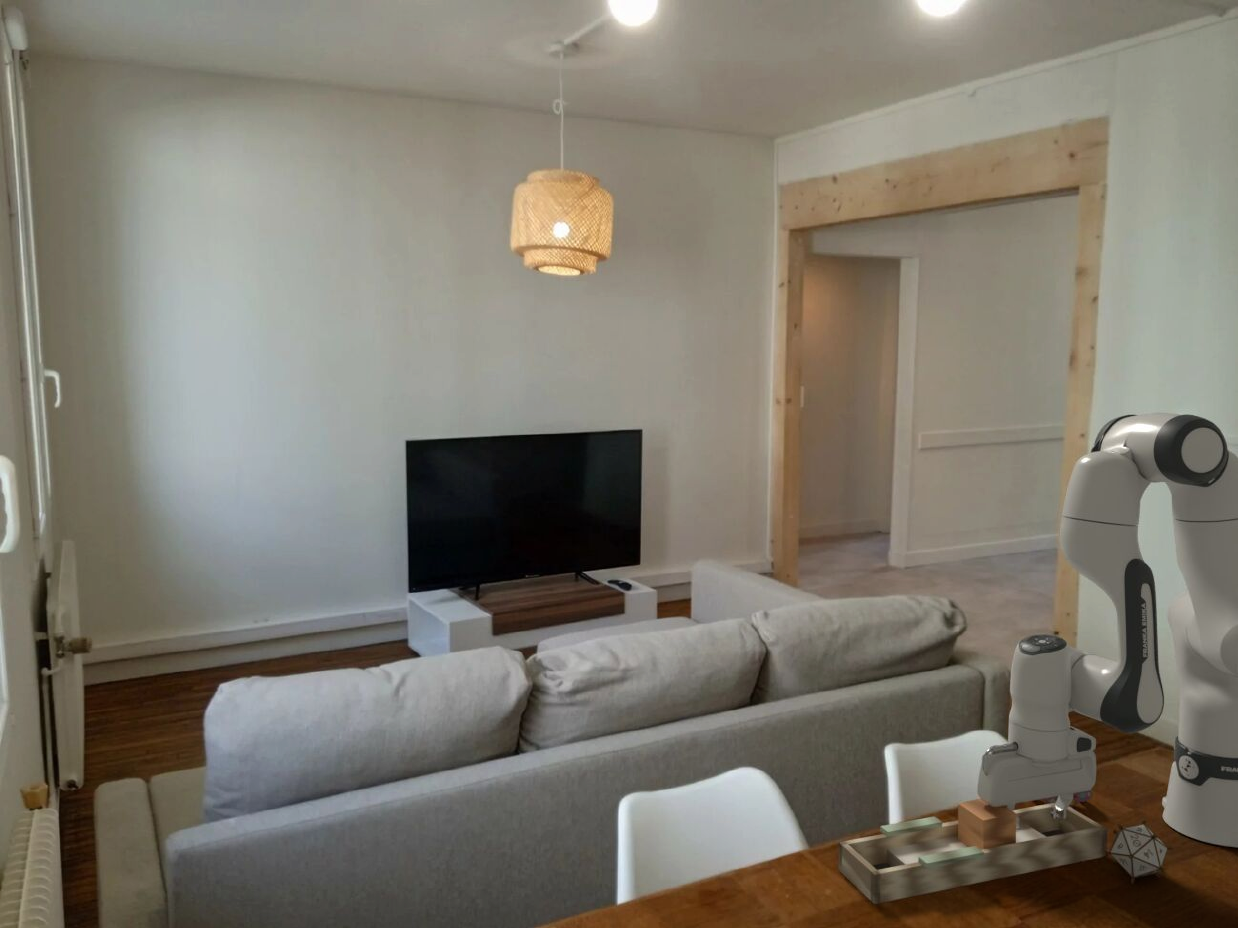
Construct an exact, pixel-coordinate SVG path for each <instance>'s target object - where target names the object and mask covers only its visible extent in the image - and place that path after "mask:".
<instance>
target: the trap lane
mask: <svg viewBox="0 0 1238 928" xmlns="http://www.w3.org/2000/svg"><path fill="white" fill-rule="evenodd" d="M1055 804H1056V803H1051V804H1046V803H1045V804H1040V805H1035V806H1031V807H1025V808H1019V809H1013V810H1012V811H1014V812H1015V813H1016V816H1017V817H1018V818H1020V820H1019V828H1016V843H1014V844H1008V845H1003V846H998V847H993V848H988V849H983V850H980V849H979V848H978V847H976V846H972V847H968V846H967V845H965V844H964V843H962V842H961V841H960V840H958V820H953V821H947V822H943V821H941V819H939V818H938V817H936V816H929V817H924V818H923V817H922V818H918V819H911V820H906V821H902V822H896V823H891V824H885V825H880V828H879V829H880V830H879V832H881V834H876V835H872V836H865V837H859V838H853V839H848V840H844V841H838V862H837V864H838V871H839V873H841V874H842V875H843V876H844V877H845V878H846V879H847V880H849V882H850V883H852V885H854V886H855V887H856V888H857V889H858V890H859V891H860V893H862V894H863V895H864V896H865V897H866V898H867V899H868V900H870V902H871V903H872V904H873V905H877V904H882V903H886V902H892V901H896V900H901V899H906V898H910V897H917V896H922V895H925V894H930V893H935V892H941V891H945V890H949V889H955V888H960V887H964V886H970V885H974V884H978V883H983V882H989V881H992V880H997V879H999V880H1000V879H1003V878H1008V877H1012V876H1017V875H1018V876H1019V875H1022V874H1027V873H1031V872H1032V873H1033V872H1037V871H1042V870H1048V869H1050V868H1056V867H1060V866H1061V867H1062V866H1066V865H1070V864H1075V863H1080V861H1081V862H1085V861H1090V860H1093V859H1094V860H1095V859H1100V858H1104V857H1107V855H1105V854H1103V853H1104V852H1105V851H1106V852H1108V850H1107V849H1108V832H1109V831H1108V828H1107V827H1105V826H1103V825H1101V824H1100V823H1098V822H1097V821H1094V820H1093V819H1091V818H1089V817H1088V816H1086V815H1084V814H1083V813H1081V812H1080V811H1077V810H1076V809H1074V808H1073V807H1072V806H1069V807H1068V808H1067V809H1066V819H1062V820H1056V819H1054V818H1052V817H1051V806H1054V805H1055Z"/></svg>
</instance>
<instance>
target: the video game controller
mask: <svg viewBox="0 0 1238 928" xmlns="http://www.w3.org/2000/svg"><path fill="white" fill-rule="evenodd" d="M1093 795H1094V794H1093V790H1092V789H1091V790H1089V791H1083V792H1077V793H1073V800H1072V801H1071V803H1070V805H1069V807H1076V806H1077V805H1079V803H1084V802H1085V803H1086V802H1087V801H1088V800H1089V799H1091V798H1092V797H1093ZM1058 797H1059V796H1055V797H1049V798H1044V799H1042V801H1044V802H1045V804H1051V803H1056V801H1057V799H1058Z"/></svg>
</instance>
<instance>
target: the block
mask: <svg viewBox="0 0 1238 928" xmlns="http://www.w3.org/2000/svg"><path fill="white" fill-rule="evenodd" d="M957 821H958V840H960V841H961V842H962V843H964V844H965V845H967V846H968V847H972V846H976V847H978V848H979V849H980V850H983V849H988V848H993V847H998V846H1003V845H1008V844H1014V843H1016V813H1015V812H1014V811H1013V810H1012V809H1011V810H1010V809H1009V808H1007V807H1006V806H999V807H992V806H990V805H989V804H987V803H986V802H984V801H983V800H982V799H981V798H977V799H972V800H968V801H964V802H958V803H957Z"/></svg>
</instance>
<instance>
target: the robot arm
mask: <svg viewBox="0 0 1238 928" xmlns="http://www.w3.org/2000/svg"><path fill="white" fill-rule="evenodd" d="M1151 483H1153V484H1154V483H1165V484H1166V485H1167V488H1168V489H1169V491H1170V494H1171V512H1172V514H1171V515H1172V524H1173V533H1174V544H1175V552H1176V561H1177V566H1178V568H1179V571H1180V573H1181V574H1182V576H1183V579H1184V582H1185V585H1186V587H1187V589H1185V590H1183V591H1181V592H1179V593H1178V594H1177V595H1176V596H1175V597H1173V598H1172V600H1171V602H1170V603H1169V606H1168V608H1167V621H1168V624H1169V627H1170V630H1171V634H1172V641H1173V647H1174V657H1175V663H1176V670H1177V671H1176V672H1177V678H1178V683H1179V684H1178V685H1179V687H1178V688H1179V713H1178V714H1179V715H1178V733H1177V736H1176V737H1175V740H1174V744H1173V750H1174V752H1173V759H1174V761H1173V763H1172V765H1171V770H1170V773H1169V774H1170V775H1169V779H1168V786H1167V792H1166V796H1164V797H1162V799H1161V801H1162V802H1161V804H1162V807H1163V813H1162V819H1163V820H1164V822H1165V823H1166V824H1167V825H1168V826H1169V827H1171V828H1172V829H1174V830H1175V831H1176V832H1178V833H1180V834H1182V835H1185V836H1187V837H1190V838H1192V839H1195V840H1197V841H1201V842H1204V843H1209V844H1212V845H1218V846H1224V847H1232V848H1238V456H1237V455H1236V454H1235V453H1233V452H1232V451H1230V450H1228V445H1227V440H1226V438H1225V436H1224V434H1223V432H1222V430H1221V429H1220V428H1219V426H1217V424H1215V423H1214V422H1212V421H1211V420H1209V419H1207V418H1204V417H1201V416H1198V415H1194V414H1177V413H1170V412H1152V413H1147V414H1126V415H1122V416H1118V417H1115V418H1113V419H1111V420H1109V421H1108V422H1106V423H1105V424H1104V425H1103V426H1102V428H1101V429H1100V430H1099V432H1098V433H1097V435H1096V438H1095V440H1094V443H1093V446H1092V448H1091V450H1090V452H1089V453H1087V454H1084V455H1082V456H1081V457H1080V458H1078V460H1077V461H1076V462H1075V464H1074V466H1073V469H1072V471H1071V474H1070V478H1069V481H1068V484H1067V489H1066V493H1065V495H1064V496H1065V497H1064V501H1063V507H1062V513H1061V520H1060V526H1059V527H1060V529H1059V546H1060V547H1059V548H1060V551H1061V553H1062V554H1063V556H1064V558H1065V559H1066V561H1067V563H1068V564H1069V565H1070V566H1071V567H1072V568H1073V569H1075V570H1076V571H1077V573H1079V574H1080V575H1082V576H1084V578H1087V579H1088V580H1089V581H1090V582H1092V583H1093V584H1095V585H1096V586H1097V587H1099V588H1100V589H1101V590H1102V591H1103V592H1104V593H1105V594H1106V595H1107V597H1109V599H1110V600H1111V602H1112V604H1113V606H1114V608H1115V613H1116V623H1117V625H1116V626H1117V653H1118V657H1117V658H1118V660H1117V661H1116V660H1112V659H1110V658H1106V657H1102V656H1099V655H1097V654H1094V653H1091V652H1088V651H1085V650H1081V649H1079V648H1075V647H1073V646H1071V645H1069V644H1068V642H1067V640H1065V639H1064V638H1062V637H1060V636H1057V635H1051V634H1047V633H1045V634H1032V635H1029V636H1026V637H1024V638H1022V639H1020V640H1019V642H1018V643H1017V645H1016V647H1015V650H1014V653H1013V657H1012V662H1011V670H1010V683H1009V692H1010V697H1011V709H1010V710H1009V715H1008V732H1007V733H1008V734H1007V735H1008V739H1007V743H1004V744H1000V745H996V744H995V745H992V746H990V747H989V748H988V749H987V750H986V751H985V752H984V753H983V754H982V757H981V764H980V769H979V773H978V780H977V787H976V788H977V791H976V792H977V796H978V797H979V799H982V800H983V801H984V802H986V803H987V804H989V805H990V806H992V807H999V806H1006V807H1007V808H1009V809H1010V810H1012V811H1013V810H1016V809H1015V807H1016V804H1021V803H1026V802H1031V801H1037V800H1043V799H1044V798H1049V797H1055V796H1058V799H1057V801H1056V804H1055V805H1054V806H1051V817H1052V818H1054V819H1056V820H1062V819H1066V809H1067V808H1068V807H1070V806H1069V805H1070V803H1071V801H1072V800H1073V793H1077V792H1083V791H1089V790H1092V788H1093V787H1094V785H1095V784H1096V781H1097V780H1096V779H1097V778H1096V777H1097V758H1096V753H1095V752H1094V750H1096V746H1097V740H1096V737H1094V736H1092V735H1090V734H1088V733H1086V732H1085V731H1082V730H1081V729H1079V728H1076V727H1074V726H1071V722H1070V717H1069V713H1070V712H1076V713H1077V714H1080V715H1083V716H1085V717H1089V718H1090V719H1094V720H1097V721H1100V722H1102V723H1104V724H1105V725H1107V726H1109V727H1110V728H1113V729H1115V730H1118V731H1119V732H1122V733H1124V734H1128V735H1129V734H1135V733H1139V732H1142V731H1144V730H1146V729H1148V728H1150V727H1151V726H1153V725H1154V724H1155V723H1157V722H1158V720H1160V717H1161V716H1162V714H1163V710H1164V706H1165V695H1164V689H1163V683H1162V678H1161V672H1160V668H1159V667H1160V666H1159V665H1160V664H1159V644H1158V643H1159V640H1158V637H1159V636H1158V612H1157V594H1156V583H1155V577H1154V573H1153V570H1152V568H1151V567H1150V566H1149V565H1148V564H1147V562H1145V560H1144V558H1143V556H1142V553H1141V549H1140V545H1139V534H1138V533H1139V523H1140V513H1141V500H1142V498H1143V495H1144V493H1145V491H1146V490H1147V489H1148V487H1149V486H1150V485H1151ZM1019 820H1020V818H1018V817H1017V816H1016V828H1019Z"/></svg>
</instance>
